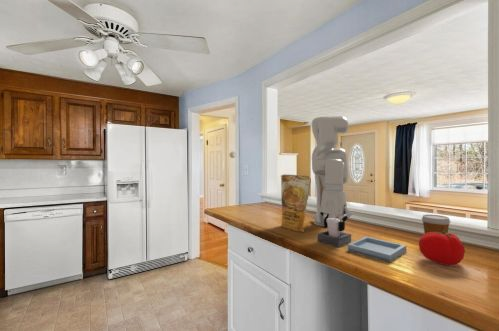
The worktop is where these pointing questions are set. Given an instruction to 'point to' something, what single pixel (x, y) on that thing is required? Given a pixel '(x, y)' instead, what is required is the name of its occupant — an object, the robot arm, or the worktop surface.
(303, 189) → the pancake mix bag
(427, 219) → the disposable coffee cup
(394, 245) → the tray
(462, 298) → the worktop surface
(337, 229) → the smoothie
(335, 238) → the dark grey open box
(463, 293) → the worktop surface
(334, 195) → the robot arm
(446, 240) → the tomato
